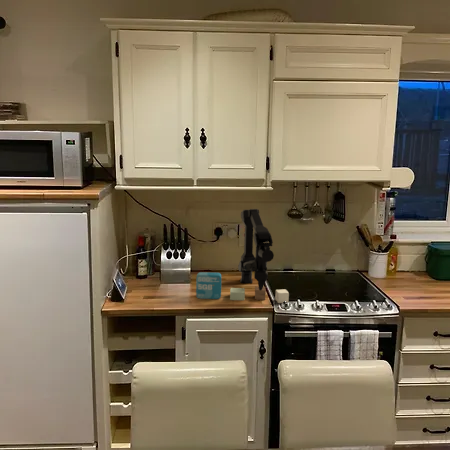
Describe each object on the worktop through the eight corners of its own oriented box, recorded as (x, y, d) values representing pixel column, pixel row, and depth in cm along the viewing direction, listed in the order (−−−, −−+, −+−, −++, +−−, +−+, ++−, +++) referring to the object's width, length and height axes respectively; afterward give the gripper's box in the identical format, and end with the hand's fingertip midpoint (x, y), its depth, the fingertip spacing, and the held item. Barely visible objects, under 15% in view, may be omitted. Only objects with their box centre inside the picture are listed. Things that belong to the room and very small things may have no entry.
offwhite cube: (275, 299, 227) (275, 289, 226) (285, 299, 228) (285, 289, 227) (278, 303, 222) (278, 293, 221) (288, 302, 223) (288, 292, 222)
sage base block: (230, 295, 232) (230, 287, 231) (244, 295, 232) (244, 288, 231) (230, 300, 225) (230, 292, 224) (244, 300, 225) (244, 292, 224)
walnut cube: (254, 296, 231) (255, 286, 230) (264, 296, 231) (265, 286, 230) (254, 299, 226) (255, 289, 225) (265, 300, 226) (265, 290, 225)
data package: (196, 298, 226) (196, 274, 224) (196, 295, 230) (197, 272, 228) (220, 299, 226) (221, 275, 223) (221, 296, 230) (221, 272, 228)
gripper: (245, 250, 234) (244, 280, 237) (244, 260, 216) (243, 292, 219) (267, 251, 234) (266, 281, 237) (268, 261, 215) (267, 293, 218)
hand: (260, 287), depth 228 cm, fingers open, 9 cm apart
